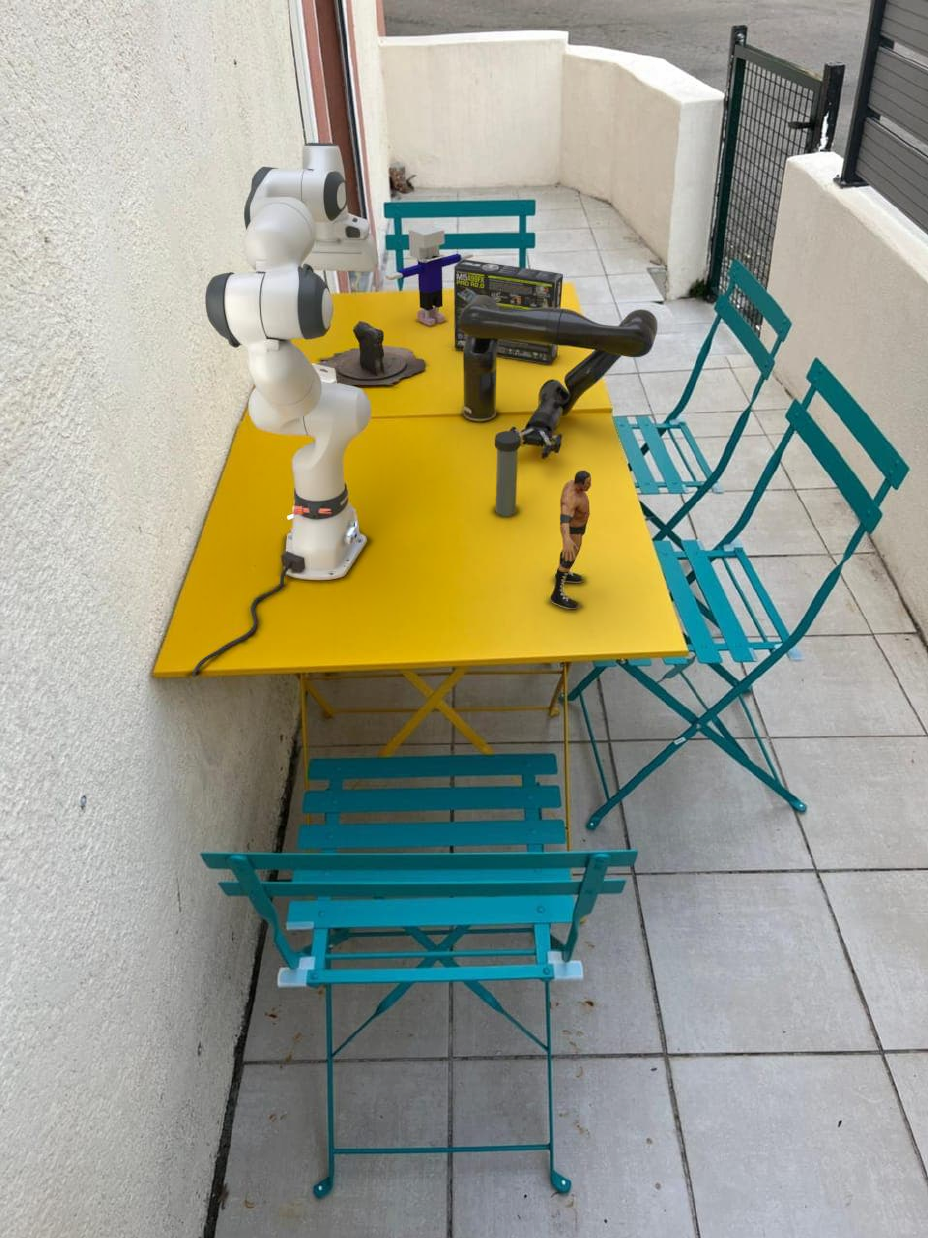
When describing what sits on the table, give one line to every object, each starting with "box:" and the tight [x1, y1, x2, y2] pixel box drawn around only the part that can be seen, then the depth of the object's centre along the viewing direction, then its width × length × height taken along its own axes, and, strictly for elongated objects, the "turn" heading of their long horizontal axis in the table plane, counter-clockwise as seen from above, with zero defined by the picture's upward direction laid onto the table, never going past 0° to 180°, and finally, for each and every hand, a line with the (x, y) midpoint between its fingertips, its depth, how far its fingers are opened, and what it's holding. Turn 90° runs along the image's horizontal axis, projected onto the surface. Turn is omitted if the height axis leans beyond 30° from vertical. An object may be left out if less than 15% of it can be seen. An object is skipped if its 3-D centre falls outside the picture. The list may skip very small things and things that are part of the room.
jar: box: [495, 448, 519, 517], centre depth 210 cm, size 5×5×20 cm
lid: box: [494, 430, 521, 452], centre depth 204 cm, size 6×6×2 cm
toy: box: [384, 223, 474, 327], centre depth 298 cm, size 35×10×30 cm, turn 130°
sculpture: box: [316, 320, 426, 387], centre depth 273 cm, size 33×35×16 cm
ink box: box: [311, 363, 337, 383], centre depth 249 cm, size 9×5×15 cm, turn 62°
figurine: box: [550, 470, 592, 610], centre depth 182 cm, size 24×6×30 cm, turn 168°
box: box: [453, 259, 564, 365], centre depth 278 cm, size 34×7×27 cm, turn 68°
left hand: (334, 289), depth 200 cm, fingers open, 8 cm apart
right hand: (526, 453), depth 225 cm, fingers open, 8 cm apart
